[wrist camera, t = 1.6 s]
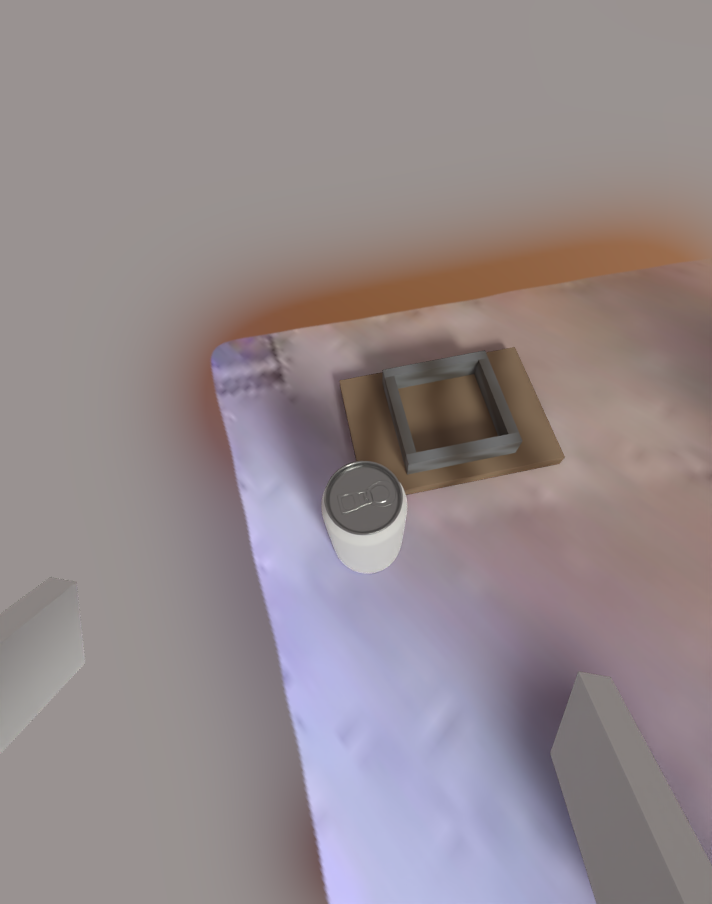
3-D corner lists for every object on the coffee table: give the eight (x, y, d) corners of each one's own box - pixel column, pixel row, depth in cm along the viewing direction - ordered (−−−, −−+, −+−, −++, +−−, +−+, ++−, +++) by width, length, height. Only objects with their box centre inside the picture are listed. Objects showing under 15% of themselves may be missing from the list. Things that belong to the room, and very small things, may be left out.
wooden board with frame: (511, 355, 51) (521, 331, 47) (559, 463, 45) (575, 445, 41) (340, 388, 50) (337, 366, 46) (365, 503, 44) (364, 488, 40)
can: (410, 564, 41) (421, 526, 30) (342, 583, 41) (329, 552, 30) (389, 500, 44) (393, 445, 33) (326, 517, 43) (309, 467, 33)
